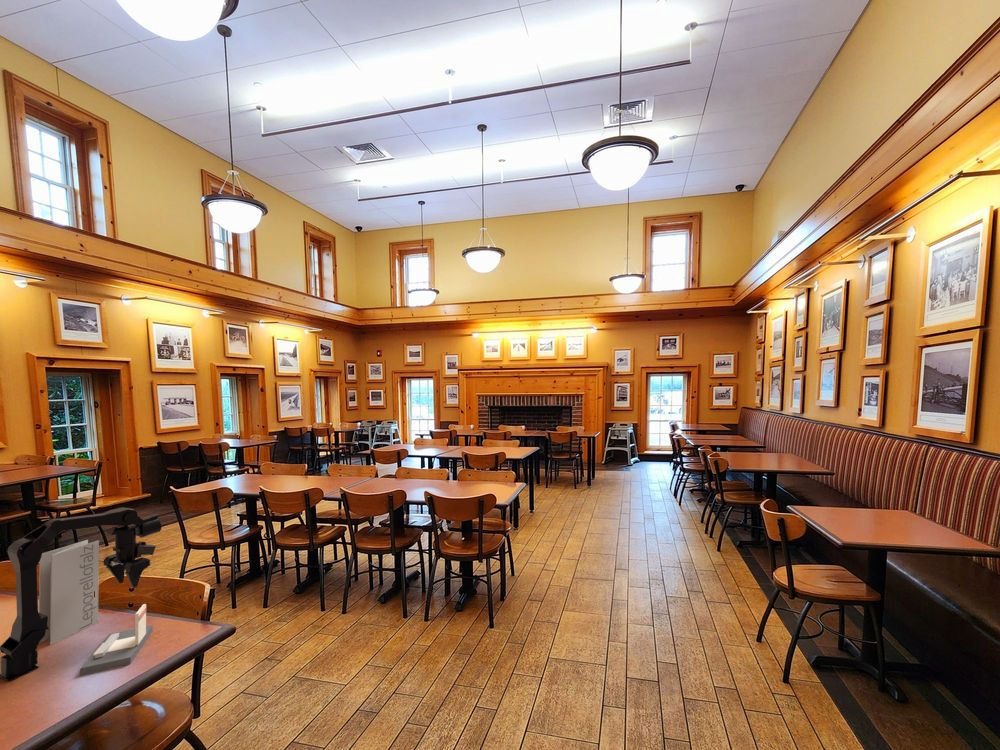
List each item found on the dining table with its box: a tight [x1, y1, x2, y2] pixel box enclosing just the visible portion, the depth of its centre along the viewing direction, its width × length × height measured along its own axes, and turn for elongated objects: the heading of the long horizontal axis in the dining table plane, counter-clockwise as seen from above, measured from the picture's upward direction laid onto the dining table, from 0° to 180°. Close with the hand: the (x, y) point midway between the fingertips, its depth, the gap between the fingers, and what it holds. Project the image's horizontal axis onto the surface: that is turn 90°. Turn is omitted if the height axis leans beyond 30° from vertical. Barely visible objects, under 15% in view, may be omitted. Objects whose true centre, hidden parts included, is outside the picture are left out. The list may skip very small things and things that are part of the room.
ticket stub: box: [134, 603, 147, 645], centre depth 141 cm, size 1×7×10 cm, turn 24°
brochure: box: [38, 539, 100, 645], centre depth 151 cm, size 14×6×30 cm, turn 168°
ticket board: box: [79, 624, 154, 676], centre depth 138 cm, size 12×20×3 cm, turn 24°
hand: (128, 584), depth 154 cm, fingers open, 9 cm apart
